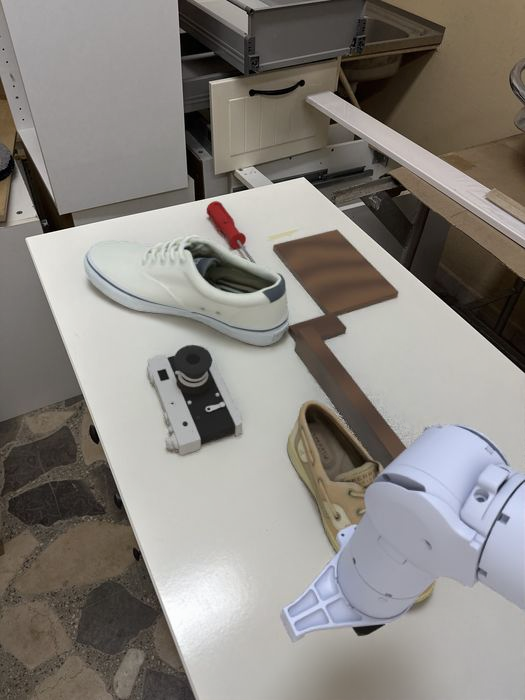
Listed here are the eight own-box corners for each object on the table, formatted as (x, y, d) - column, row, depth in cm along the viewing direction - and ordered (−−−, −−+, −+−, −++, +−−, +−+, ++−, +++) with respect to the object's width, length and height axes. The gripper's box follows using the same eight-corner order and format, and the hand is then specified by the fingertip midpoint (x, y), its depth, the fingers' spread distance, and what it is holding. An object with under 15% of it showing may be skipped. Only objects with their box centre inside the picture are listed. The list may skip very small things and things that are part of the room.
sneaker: (113, 251, 94) (102, 188, 85) (301, 305, 87) (311, 243, 78) (71, 294, 85) (54, 229, 76) (276, 358, 79) (284, 295, 70)
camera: (246, 403, 64) (166, 427, 61) (243, 435, 69) (170, 459, 66) (204, 321, 73) (133, 338, 70) (205, 354, 78) (139, 372, 75)
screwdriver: (259, 295, 89) (260, 278, 86) (205, 217, 103) (205, 201, 101) (277, 290, 90) (279, 274, 87) (221, 213, 105) (221, 198, 102)
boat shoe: (387, 628, 54) (408, 602, 48) (263, 448, 68) (268, 411, 62) (448, 584, 58) (474, 555, 52) (318, 421, 72) (328, 384, 66)
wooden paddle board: (583, 488, 67) (602, 470, 64) (447, 564, 59) (461, 548, 56) (336, 234, 102) (339, 214, 99) (230, 260, 95) (230, 240, 91)
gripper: (438, 465, 40) (388, 535, 50) (269, 544, 35) (252, 604, 45) (503, 550, 36) (435, 607, 46) (324, 653, 31) (291, 692, 41)
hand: (348, 611), depth 45 cm, fingers closed
